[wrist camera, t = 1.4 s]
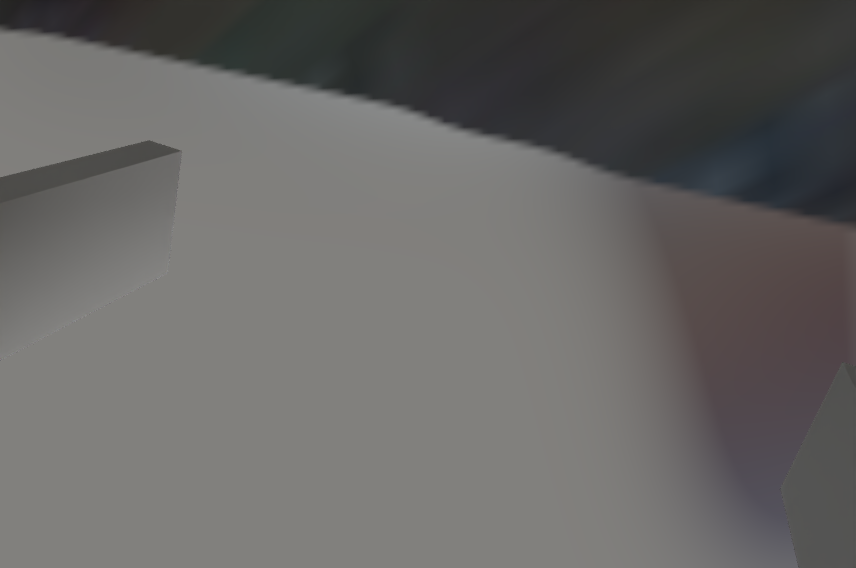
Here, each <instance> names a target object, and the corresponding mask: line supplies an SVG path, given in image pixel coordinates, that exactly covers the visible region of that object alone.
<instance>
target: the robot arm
mask: <svg viewBox="0 0 856 568" xmlns="http://www.w3.org/2000/svg"><path fill="white" fill-rule="evenodd" d="M181 154H182V151H180V150H177V149H174V148H171V147H168V146H165V145H162V144H158V143H155V142H152V141H145V142H141V143H137V144H133V145H129V146H125V147H121V148H117V149H113V150H109V151H105V152H101V153H97V154H93V155H89V156H85V157H81V158H77V159H73V160H69V161H65V162H61V163H57V164H53V165H49V166H45V167H41V168H37V169H33V170H29V171H24V172H20V173H17V174H12V175H9V176H5V177H0V360H2V359H4V358H6V357H8V356H10V355H12V354H14V353H16V352H18V351H19V350H21V349H23V348H25V347H27V346H29V345H31V344H33V343H35V342H37V341H39V340H41V339H43V338H45V337H46V336H48V335H50V334H52V333H54V332H56V331H58V330H60V329H62V328H64V327H66V326H67V325H69V324H71V323H73V322H75V321H77V320H79V319H81V318H83V317H85V316H86V315H88V314H90V313H92V312H94V311H96V310H98V309H100V308H102V307H104V306H106V305H108V304H110V303H112V302H113V301H115V300H117V299H119V298H121V297H123V296H125V295H127V294H129V293H131V292H132V291H134V290H136V289H138V288H140V287H142V286H144V285H146V284H148V283H150V282H151V281H154V280H156V279H157V278H159V277H161V276H163V275H165V274H167V273H168V267H169V259H170V249H171V241H172V232H173V223H174V214H175V206H176V197H177V189H178V180H179V171H180V163H181ZM780 489H781V494H782V498H783V502H784V507H785V511H786V515H787V519H788V524H789V528H790V533H791V537H792V541H793V545H794V550H795V554H796V558H797V563H798V567H799V568H856V366H853V365H850V364H847V363H844V362H843V363H842V364H841V366H840V369H839V371H838V373H837V375H836V376H835V378H834V381H833V383H832V385H831V387H830V389H829V391H828V393H827V395H826V397H825V399H824V401H823V403H822V405H821V407H820V409H819V411H818V413H817V415H816V417H815V419H814V421H813V423H812V425H811V427H810V429H809V431H808V433H807V436H806V438H805V439H804V442H803V443H802V446H801V448H800V450H799V452H798V454H797V456H796V458H795V460H794V462H793V464H792V466H791V468H790V470H789V472H788V474H787V476H786V478H785V480H784V482H783V484H782V486H781V488H780Z"/></svg>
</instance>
